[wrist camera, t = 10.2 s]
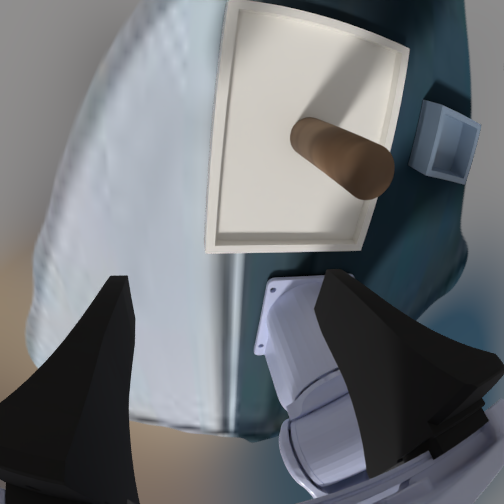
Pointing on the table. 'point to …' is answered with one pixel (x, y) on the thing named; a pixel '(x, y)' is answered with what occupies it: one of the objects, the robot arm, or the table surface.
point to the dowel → (344, 157)
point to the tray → (282, 121)
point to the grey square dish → (444, 143)
